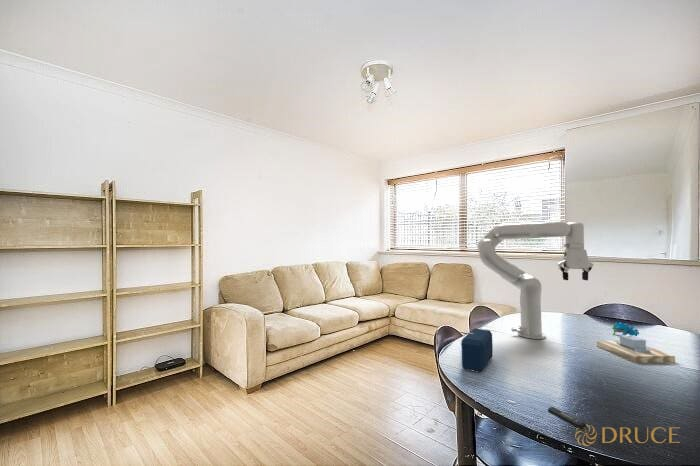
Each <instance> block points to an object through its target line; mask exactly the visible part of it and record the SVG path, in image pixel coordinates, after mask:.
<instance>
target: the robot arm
mask: <svg viewBox="0 0 700 466" xmlns="http://www.w3.org/2000/svg"><path fill="white" fill-rule="evenodd" d="M584 227H585V226H584V223H582V222H568V223H567V222H566V221H565V222H564V221H552V222H551V221H550V222H518V223H501V224H498V225H495V226H494V227H493V228H492V229H491V230H490V231H488V232H487V233H486V235H484V236H483V238H481V239H480V240H479V241H478V243H477V249H478V255H479V258H480V261H481V262H482V264H483V265H485V266H486V267H487V268H488V269H489V270H491V271H492V272H494V273H495V274H497V275H499V276H500V277H501V279H503V280H505V281H506V282H508V283H509V284H511V285H513V286H514V287H516V288H517V289H519V290H520V293H519V304H520V306H519V309H520V312H519V313H520V325H518V327H512V328H511V331H512V332H514V333H515V332H516V333H517V335H519V336H520V337H522V338H526V339H533V340H542V339H545V338H546V334H545V333H544V332H543V327H542V299H541V298H542V289H543V288H542V283H541V281H540V280H539V279H538V278H537V277H535V276H534V275H531V274H529V273H527V272H526V271H524V270H522V269H521V268H519V267H518V266H517V265H516V264H514V263H511V262H509V261H507V260H506V259H504V258H503V257H501V256H500V255H498V254H497V251H496V247H498V245H499V244H501V243H502V242H503V240H527V239H540V238H557V237H558V238H559V237H563V238H564V237H565V244H563V247H564V248H565V249H564V251H563V257H562V259H563V260H562V261H560V262H557V264H556V265H557V267H558V269H559V270H560V271H561V272H562V280H564V281H569V270H570V269H571V270H582V272H581V276H582V277H581V278H582V279H581V280H583V281H589V273H590V271H591V270H592V268H593V266H594V263H593V262H590V261H589V257H588V252H587V249H586V248H585V230H584V229H585V228H584Z"/></svg>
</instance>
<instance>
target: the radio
mask: <svg viewBox="0 0 700 466" xmlns="http://www.w3.org/2000/svg"><path fill="white" fill-rule="evenodd" d="M493 349H494V348H493V333H492V332H491V330H488V329H481V328H476V327H475V328H472V329H471V330H470V332H469V333H467V335H465V336H464V337H463V338H462V340H461V364H462V368H463V369H464V368H465V369H464V370H467V369H469V370H468V371H471V370H474V371H473V372H476V371H478V372H477V373H480V372H482V373H483V372H484V371H485V370H486V368H487V367H488V365H489V364H490V362H491V360H492V358H493V357H494V355H493V354H494V352H493Z"/></svg>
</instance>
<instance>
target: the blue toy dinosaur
mask: <svg viewBox="0 0 700 466" xmlns="http://www.w3.org/2000/svg"><path fill="white" fill-rule="evenodd" d="M611 329H612V330H613V333H612V335H614V336H615V335H616V333H622V334H621V335H632V336H635V337H637V336H639V334H640V332H639V330H638V329H637V328H635V326H633V325H630V326H629V324H628V323H623V322H619V323H618V322H615V323H614V324H613V325H612V327H611Z"/></svg>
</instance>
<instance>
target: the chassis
mask: <svg viewBox="0 0 700 466" xmlns="http://www.w3.org/2000/svg"><path fill="white" fill-rule="evenodd" d="M617 342H620V339H619V340H614V339H613V340H610V339H609V340H596V346H597V347H598V348H601V349H602V350H605V351H608V352H610V353H611V354H614V355H616V356H618V357H621V358H623V359H625V360H628V361H630V362H632V363H635V364H636V363H637V364H641V363H642V364H643V363H644V364H645V363H647V364H648V363H650V364H651V363H653V364H654V363H658V364H659V363H661V364H662V363H664V364H665V363H676V356H675V355H673V354H670V353H667V352H665V351H663V350H659V349H657V348H654V347H651V346H648V345H646V349H648V350H650V352H636V351H633V350H630V349H627V348H625V347H622V346H620V345H619V344H617Z"/></svg>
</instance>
